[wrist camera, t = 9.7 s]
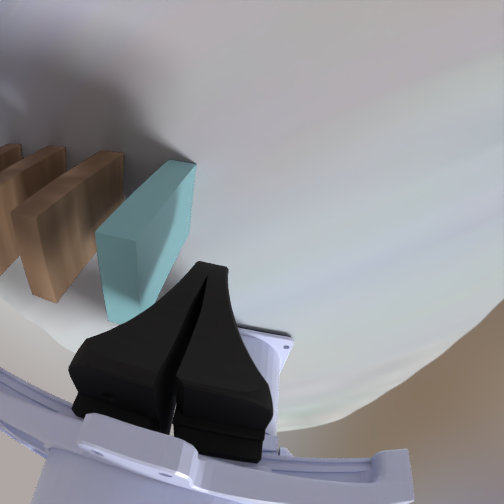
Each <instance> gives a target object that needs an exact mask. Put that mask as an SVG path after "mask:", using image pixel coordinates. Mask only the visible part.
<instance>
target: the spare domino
mask: <svg viewBox="0 0 504 504" xmlns="http://www.w3.org/2000/svg"><path fill="white" fill-rule="evenodd" d="M195 172H196V164H193V163H187V162H181V161H175V160H168V161H167V162H166V163H164V164H163V165H162V166H161V167H160V168H159V169H158V170H157V171H156V172H155V173H153V174H152V175H151V176H150V177H149V178H148V179H147V180H146V181H145V182H144V183H143V184H142V185H141V186H140V187H139V188H138V189H136V190H135V191H134V192H133V193H132V194H131V195H130V196H129V197H128V198H127V199H126V200H125V201H124V202H123V203H122V204H121V205H120V206H119V207H118V208H117V209H116V210H115V211H114V212H113V213H112V214H111V215H110V216H109V218H108V219H107V220H106V221H105V222H104V223H103V224H102V225H101V226H100V227H99V228H98V229H97V230H96V231H95V238H96V247H97V255H98V262H99V270H100V276H101V283H102V289H103V295H104V300H105V306H106V311H107V316H108V321H111V322H114V323H118V324H123V323H125V322H127V321H129V320H130V319H132V318H134V317H135V316H137V315H138V314H140V313H142V312H143V311H145V310H146V309H148V308H149V307H150V306H152V305H153V304H154V303H155V302H156V299H157V297H158V295H159V293H160V291H161V289H162V287H163V285H164V283H165V280H166V278H167V276H168V274H169V272H170V270H171V268H172V266H173V264H174V262H175V260H176V258H177V256H178V254H179V252H180V250H181V248H182V246H183V244H184V242H185V240H186V238H187V236H188V234H189V229H190V218H191V208H192V198H193V189H194V180H195Z"/></svg>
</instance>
